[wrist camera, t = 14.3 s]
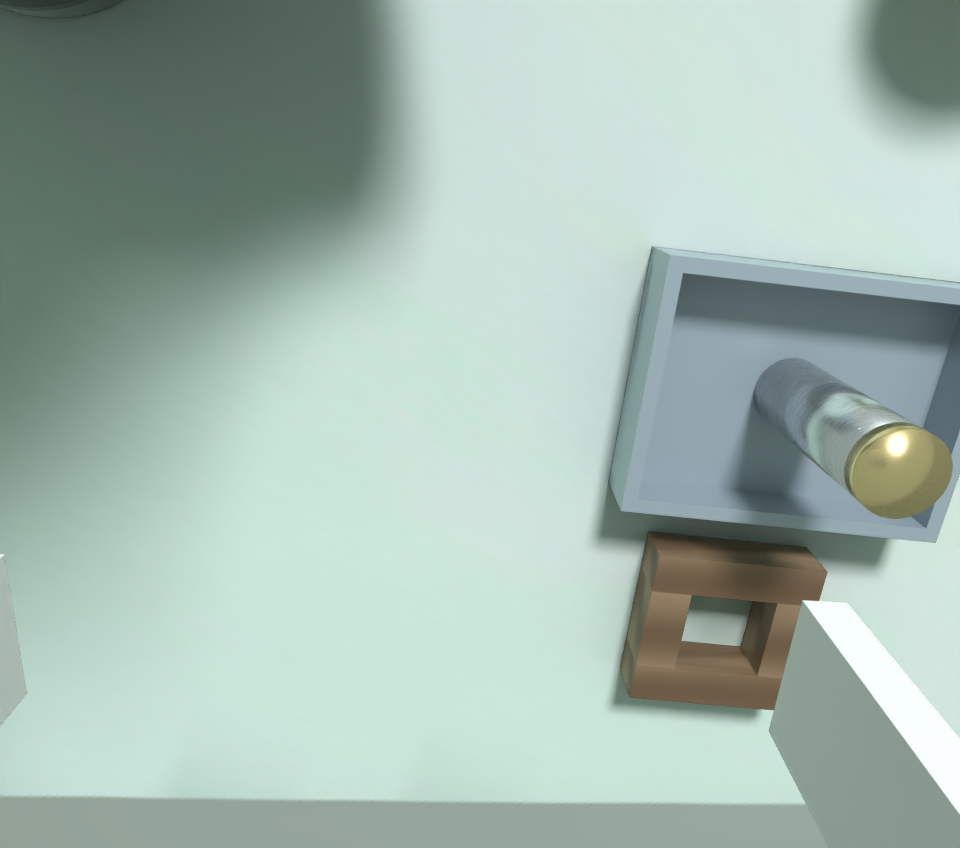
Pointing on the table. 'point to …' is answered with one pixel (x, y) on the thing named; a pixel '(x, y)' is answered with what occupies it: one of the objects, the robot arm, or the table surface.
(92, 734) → the table surface
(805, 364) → the pin
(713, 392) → the tray
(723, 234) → the table surface
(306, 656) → the table surface
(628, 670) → the socket block
